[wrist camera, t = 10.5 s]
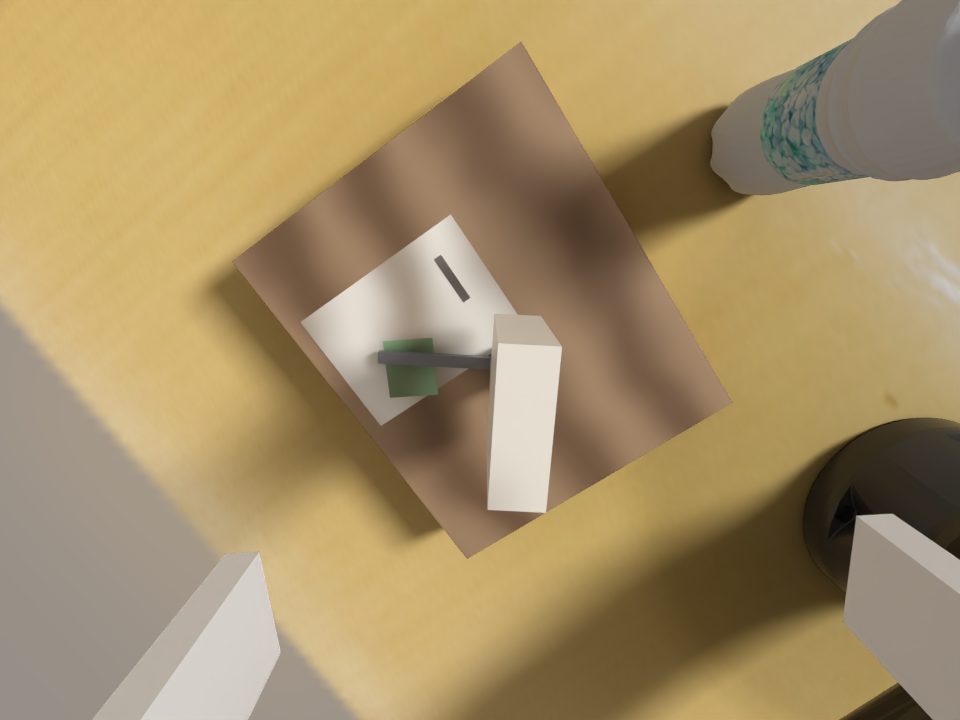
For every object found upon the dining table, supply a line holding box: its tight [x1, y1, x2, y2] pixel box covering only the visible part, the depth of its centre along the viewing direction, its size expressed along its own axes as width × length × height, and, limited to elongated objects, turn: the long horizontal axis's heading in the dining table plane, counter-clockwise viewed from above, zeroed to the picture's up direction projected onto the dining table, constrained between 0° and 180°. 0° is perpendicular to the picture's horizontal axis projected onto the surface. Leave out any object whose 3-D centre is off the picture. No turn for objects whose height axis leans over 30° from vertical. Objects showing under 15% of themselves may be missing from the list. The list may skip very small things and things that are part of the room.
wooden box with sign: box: [232, 42, 732, 559], centre depth 32 cm, size 20×24×5 cm
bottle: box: [710, 0, 960, 195], centre depth 22 cm, size 7×7×20 cm
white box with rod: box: [378, 314, 562, 513], centre depth 24 cm, size 7×9×11 cm
